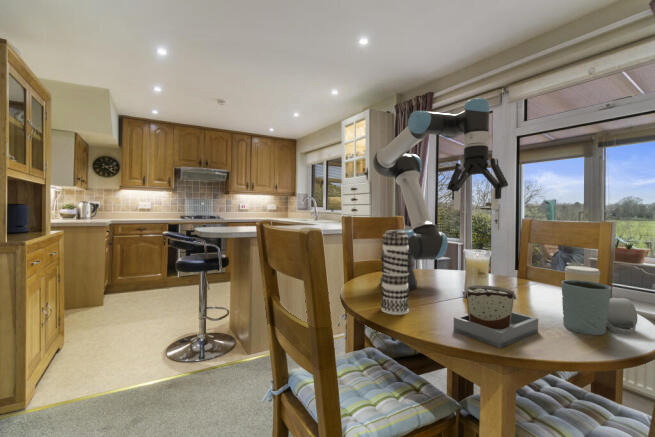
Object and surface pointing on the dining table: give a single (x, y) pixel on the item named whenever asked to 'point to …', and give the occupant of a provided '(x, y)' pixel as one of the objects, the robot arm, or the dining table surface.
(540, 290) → the dining table surface
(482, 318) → the food container
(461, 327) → the tray
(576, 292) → the teal tapered cylinder
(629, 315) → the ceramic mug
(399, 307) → the decorative candle
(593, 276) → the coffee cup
